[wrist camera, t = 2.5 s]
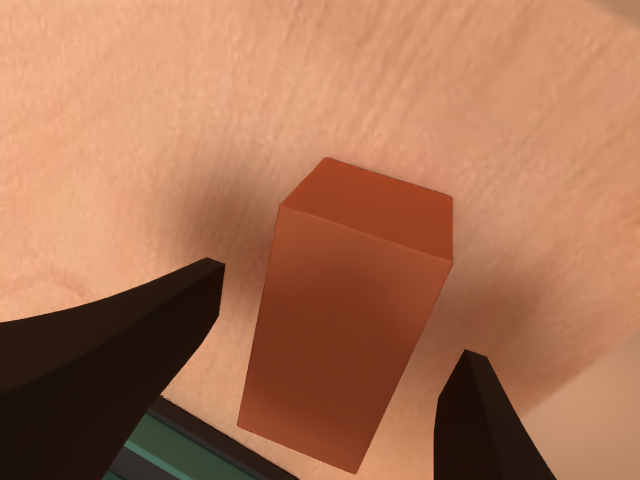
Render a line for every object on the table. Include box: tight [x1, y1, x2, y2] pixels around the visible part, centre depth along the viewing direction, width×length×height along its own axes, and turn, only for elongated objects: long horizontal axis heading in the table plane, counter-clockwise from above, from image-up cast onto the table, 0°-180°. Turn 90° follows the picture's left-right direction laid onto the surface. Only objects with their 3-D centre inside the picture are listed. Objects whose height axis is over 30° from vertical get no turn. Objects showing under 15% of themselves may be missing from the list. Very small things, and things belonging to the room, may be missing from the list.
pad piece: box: [237, 158, 453, 474], centre depth 13 cm, size 4×8×4 cm, turn 167°
